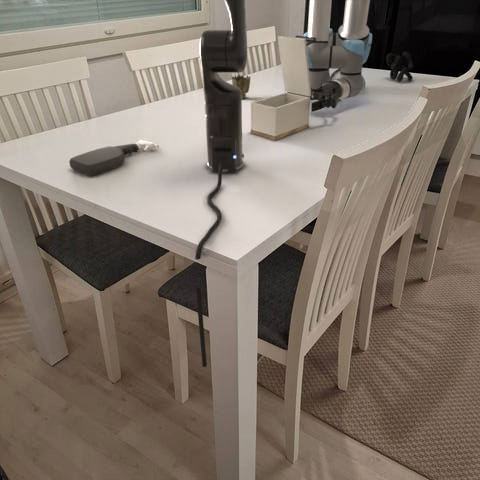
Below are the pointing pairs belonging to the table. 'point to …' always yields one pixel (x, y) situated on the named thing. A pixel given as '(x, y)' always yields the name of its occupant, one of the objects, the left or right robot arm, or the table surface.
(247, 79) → the mottled brown jagged dome
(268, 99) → the cream rectangular box
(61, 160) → the table surface
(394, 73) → the squiggle
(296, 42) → the lid
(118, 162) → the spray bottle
